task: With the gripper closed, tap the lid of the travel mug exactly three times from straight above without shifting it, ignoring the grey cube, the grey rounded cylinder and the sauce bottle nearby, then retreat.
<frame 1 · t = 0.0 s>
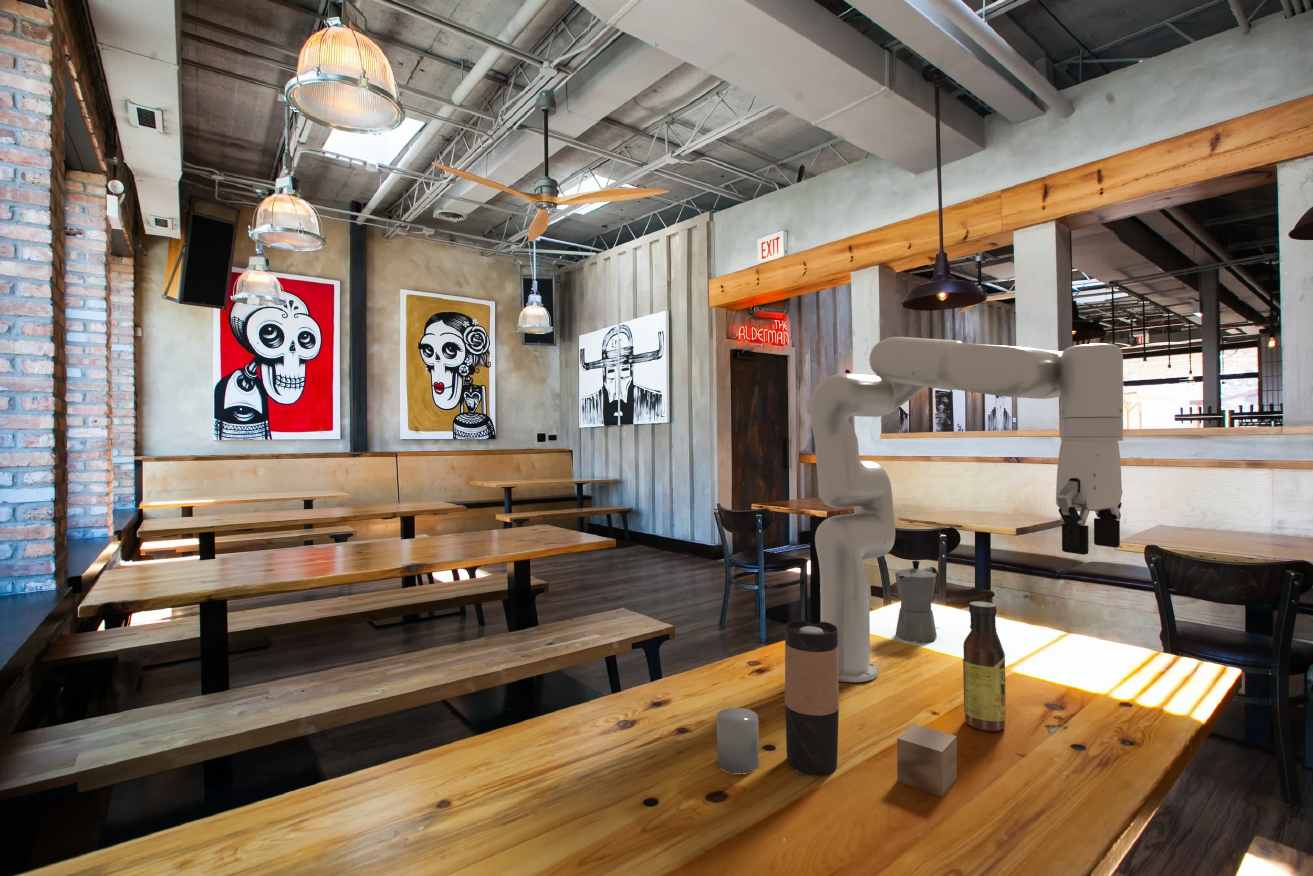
hand: (1091, 549, 94), 31 cm above the table, tool pointing down, fingers open, 9 cm apart
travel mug: (811, 765, 95), on the table
sauce bottle: (984, 726, 107), on the table
grey cube: (927, 780, 91), on the table
coffeepot: (918, 636, 155), on the table
grey rounded cylinder: (737, 764, 95), on the table
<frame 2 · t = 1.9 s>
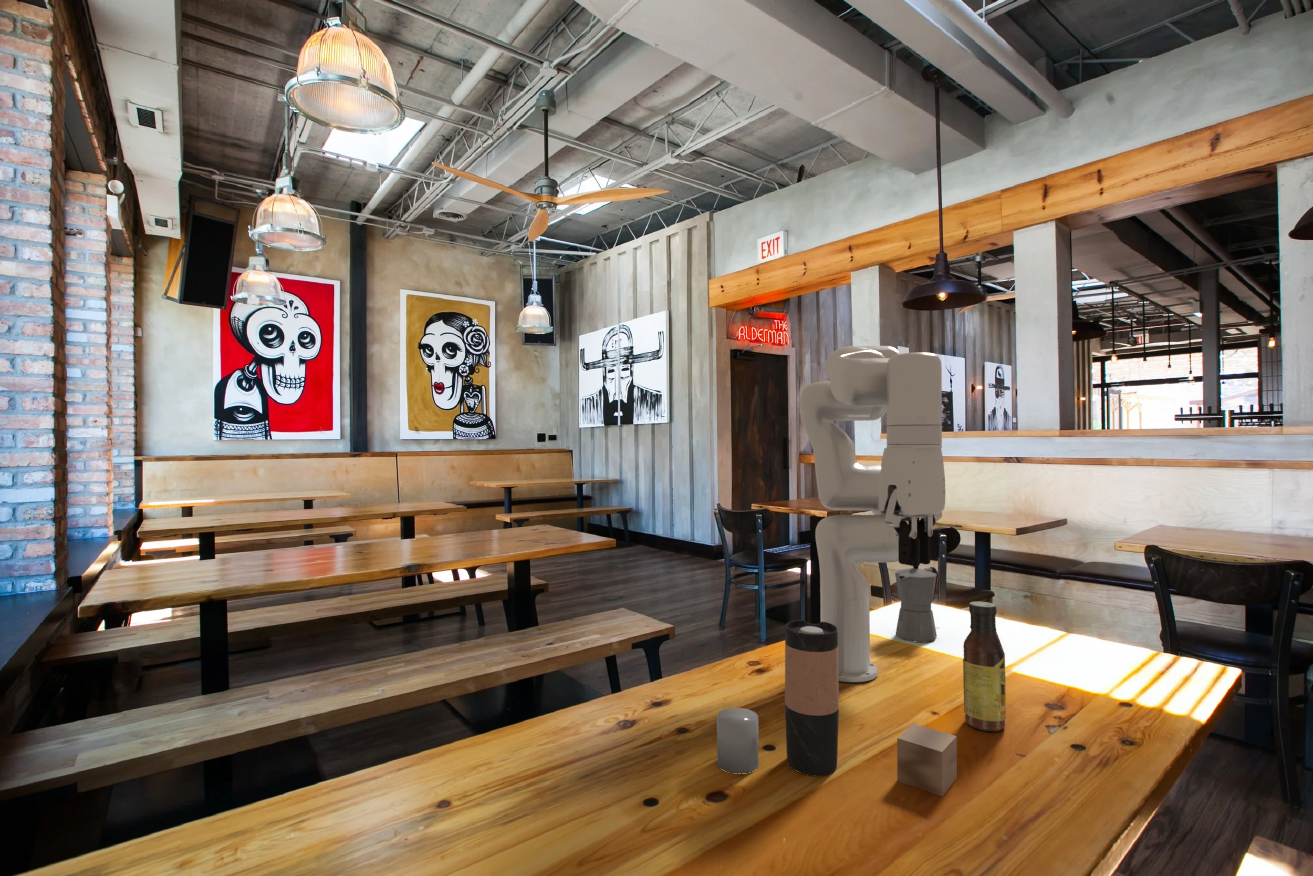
hand: (914, 563, 95), 29 cm above the table, tool pointing down, fingers closed
nothing on the table moved.
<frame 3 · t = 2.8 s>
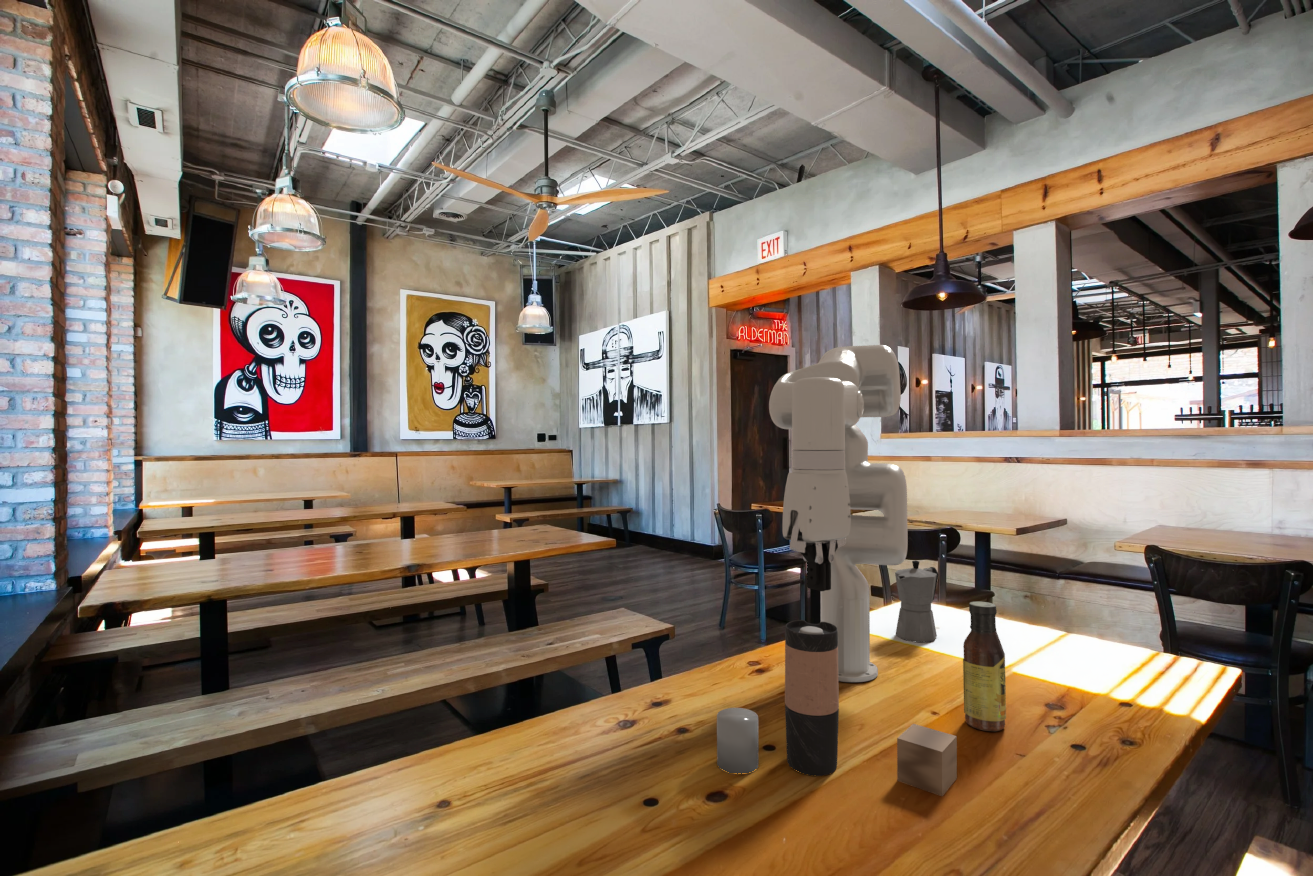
hand: (818, 588, 95), 26 cm above the table, tool pointing down, fingers closed
nothing on the table moved.
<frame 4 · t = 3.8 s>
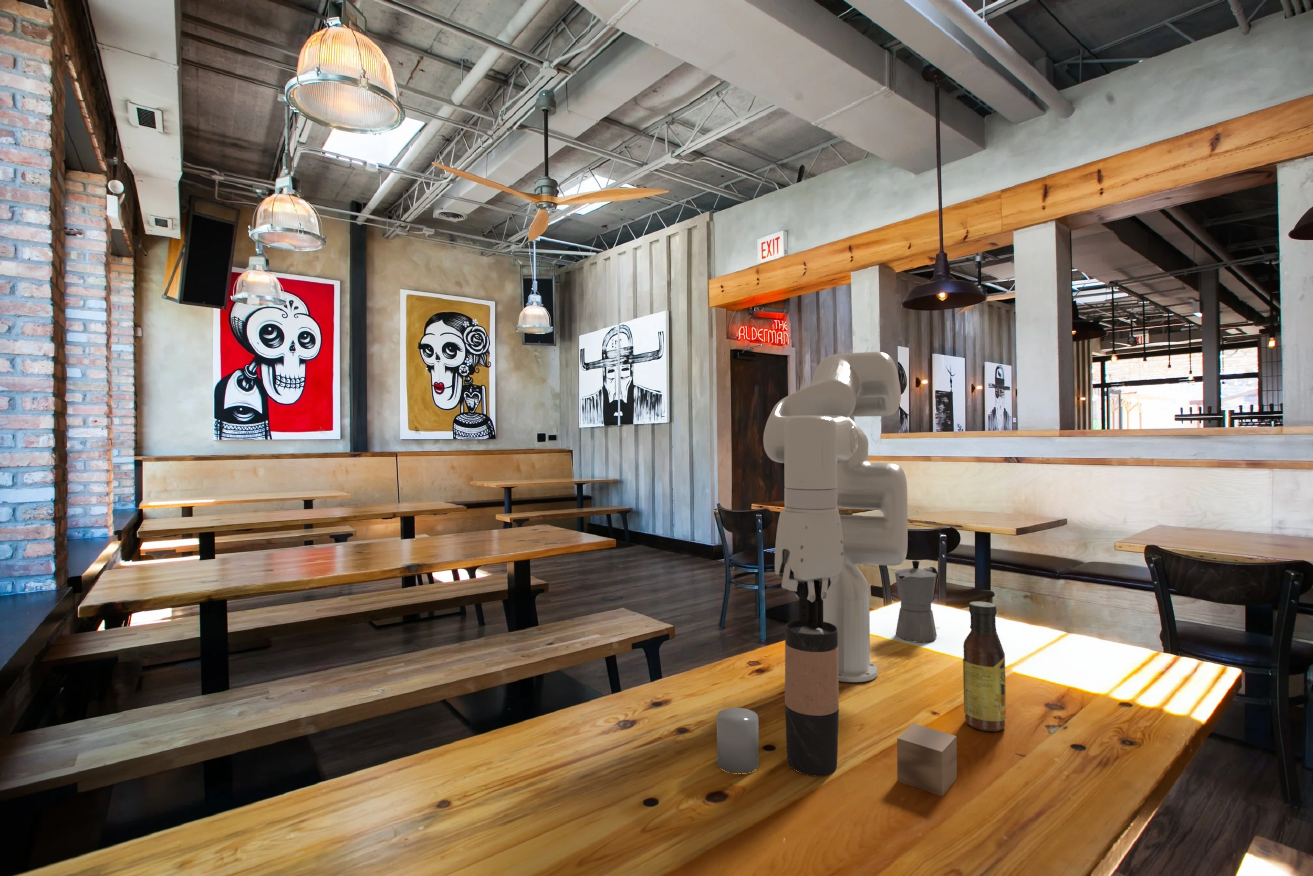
hand: (811, 625, 95), 20 cm above the table, tool pointing down, fingers closed
nothing on the table moved.
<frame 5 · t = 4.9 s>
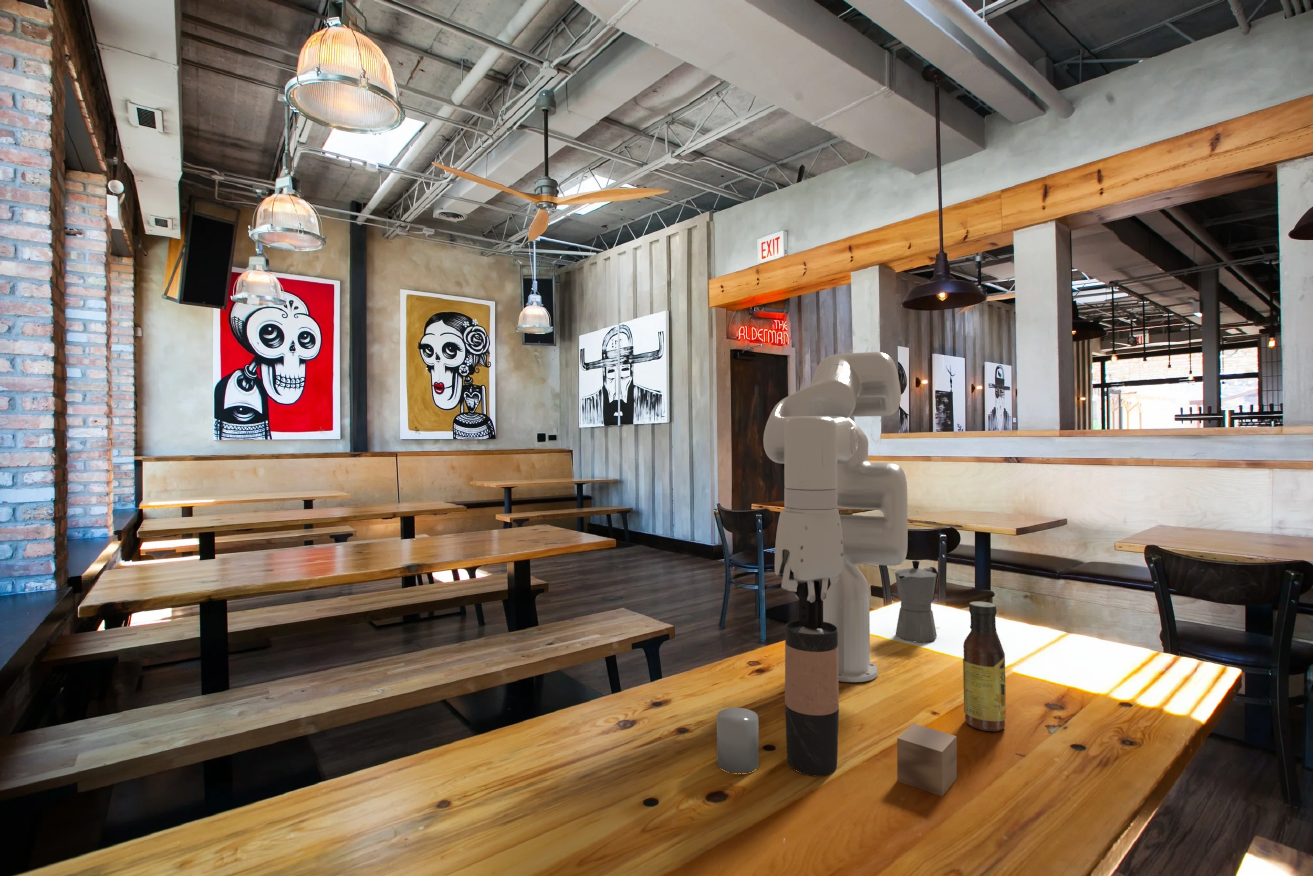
hand: (811, 626, 95), 20 cm above the table, tool pointing down, fingers closed
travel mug: (811, 765, 95), on the table, touching gripper
everything else where it was.
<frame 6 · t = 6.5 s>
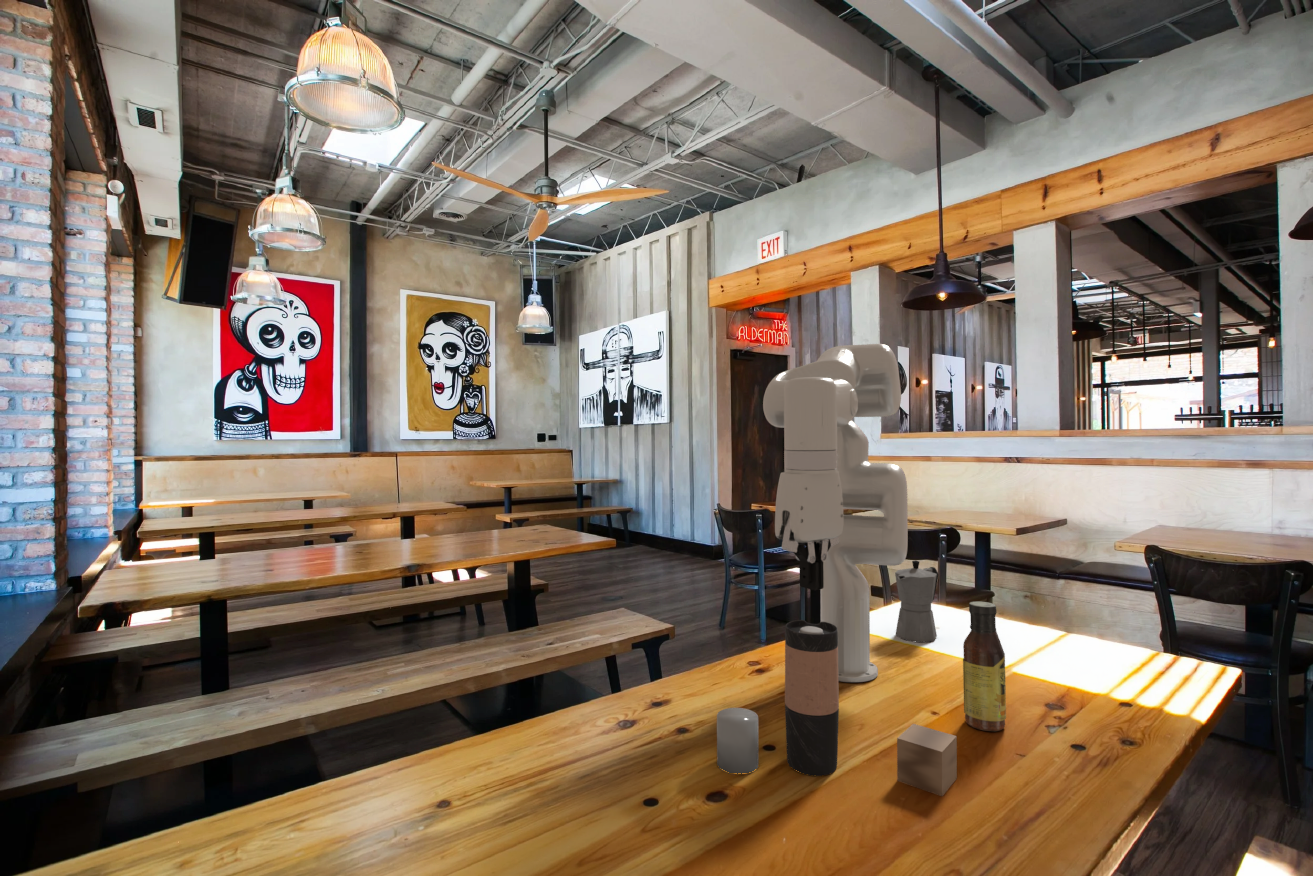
hand: (811, 587, 95), 26 cm above the table, tool pointing down, fingers closed
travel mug: (811, 765, 95), on the table
everything else where it was.
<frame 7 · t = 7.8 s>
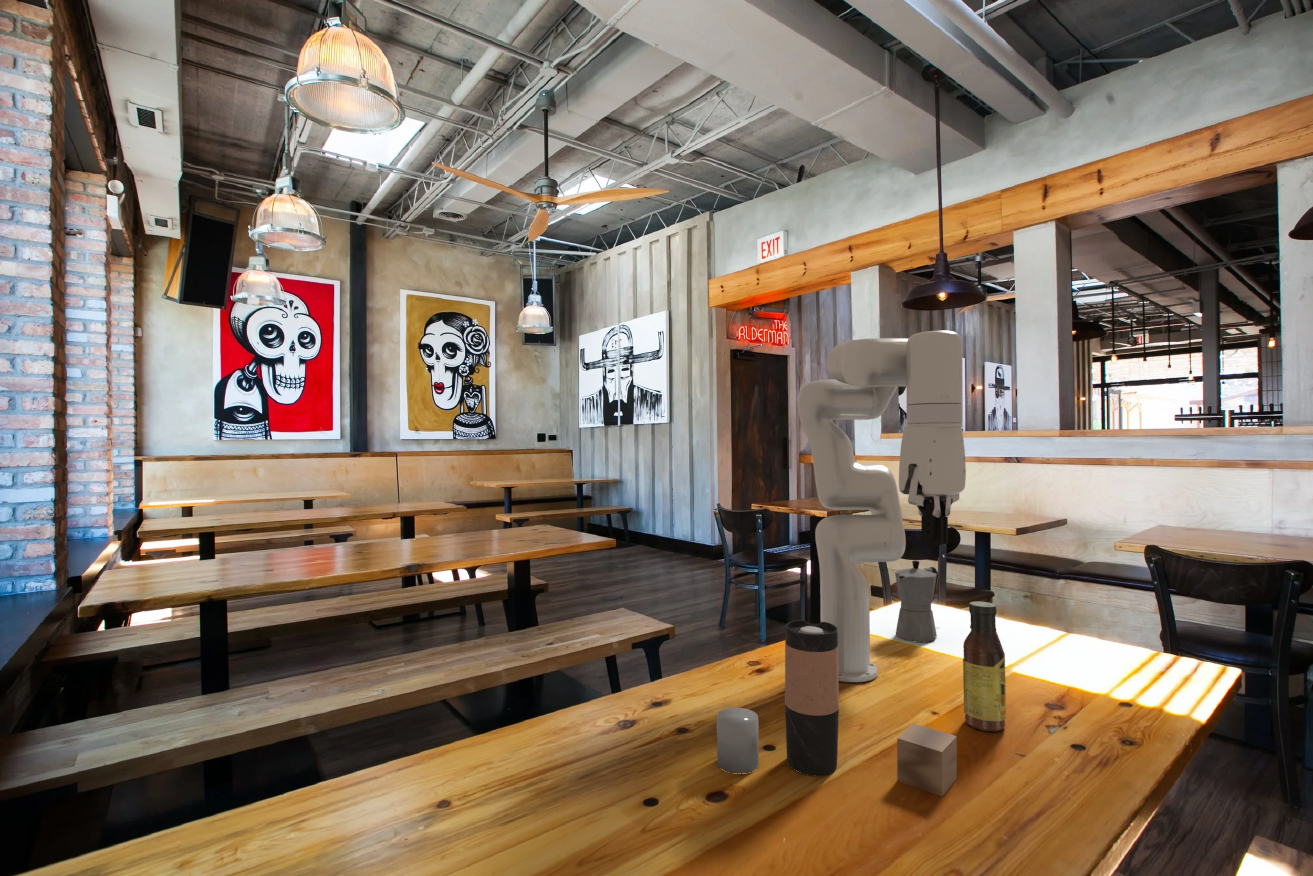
hand: (934, 543, 95), 32 cm above the table, tool pointing down, fingers closed
nothing on the table moved.
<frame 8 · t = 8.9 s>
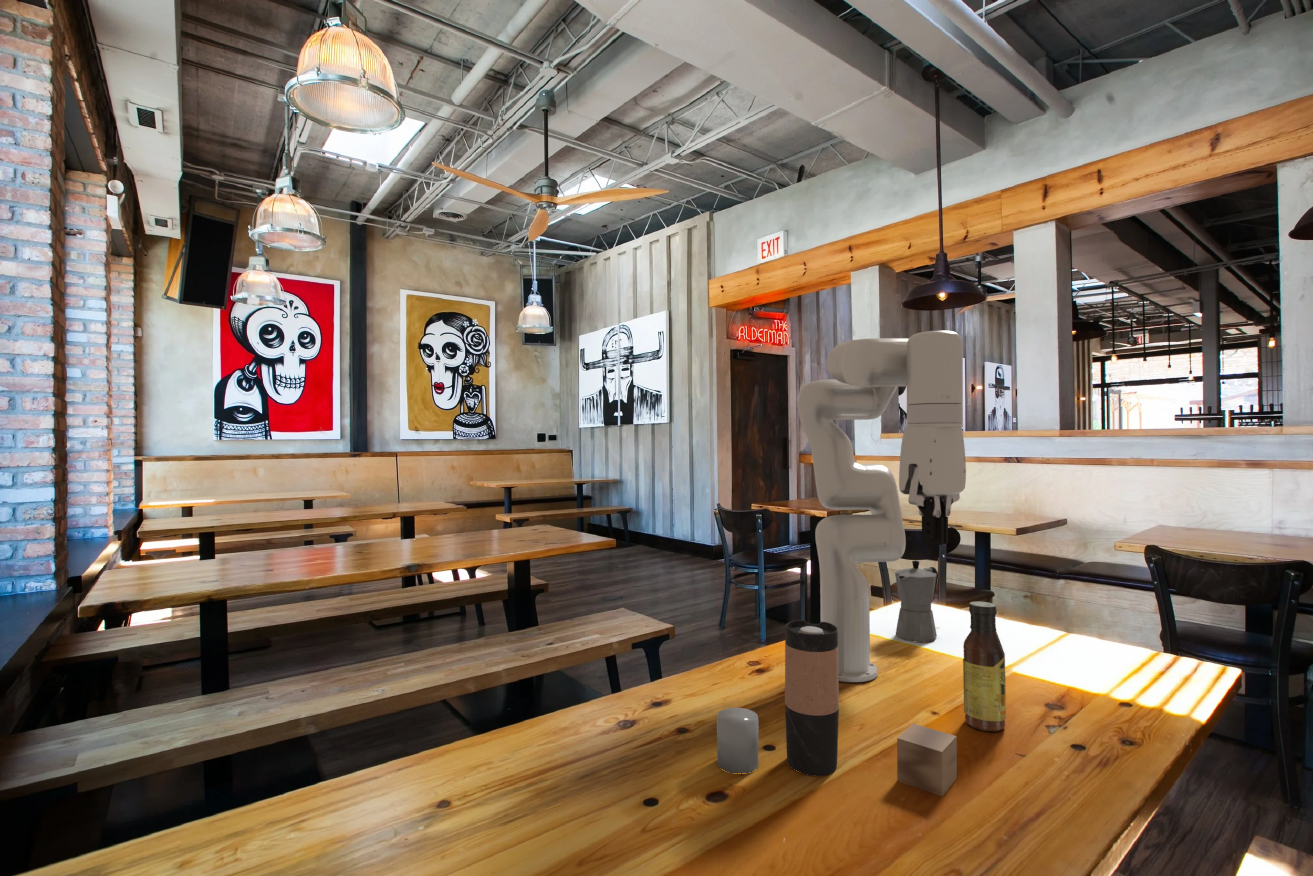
hand: (934, 543, 95), 32 cm above the table, tool pointing down, fingers closed
nothing on the table moved.
at the end: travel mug moved 0.2 cm from its start; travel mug tilted 0°; grey cube moved 0.1 cm from its start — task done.
